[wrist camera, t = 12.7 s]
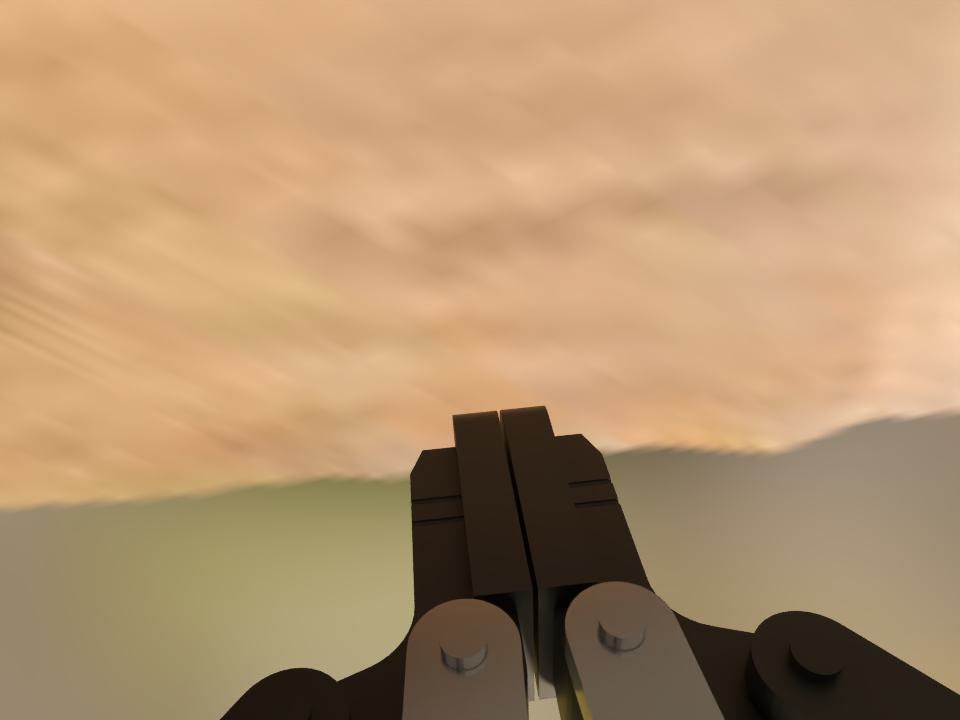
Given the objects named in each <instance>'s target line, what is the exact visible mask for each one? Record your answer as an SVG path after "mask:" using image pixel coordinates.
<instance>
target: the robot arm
mask: <svg viewBox="0 0 960 720" xmlns="http://www.w3.org/2000/svg"><path fill="white" fill-rule="evenodd" d="M453 428H454V439H455V447H451V448H442V449H432V450H423V451H422V453H421V455H420V457H419V459H418V461H417V462H416V464H415V466H414V468H413V470H412V472H411V474H410V480H411V503H412V506H411V509H412V510H411V511H412V539H413V540H412V541H413V571H414V599H415V600H414V602H415V611H414V617H413V621H412V625H411V627H410V629H409V632H408V633H407V635H406V637H405V638H404V640H403V641H402V642H401V644H400V645H399V646H398V647H397V648H396V649H395V650H394V651H393V652H392V653H391V654H390V655H389V656H387V657H386V658H385V659H383V660H382V661H380V662H379V663H377V664H375V665H373V666H371V667H369V668H367V669H365V670H363V671H360V672H358V673H356V674H353V675H351V676H349V677H346V678H344V679H342V680H340V681H338V682H337V681H336V680H334V679H333V678H332V677H331V676H329V675H327V674H325V673H323V672H321V671H318V670H314V669H309V668H293V669H288V670H283V671H280V672H277V673H274V674H272V675H270V676H268V677H266V678H264V679H262V680H261V681H259V682H258V683H256V684H255V685H254V686H252V687H251V688H250V689H249V690H248V691H247V692H246V693H245V694H244V695H243V696H242V697H241V698H240V699H239V700H238V701H237V702H236V703H235V704H234V705H233V706H232V707H231V708H230V709H229V711H228V712H227V713H226V714H225V715H224V716H223V717H222V718H221V719H220V720H529V711H528V701H534V673H535V679H536V684H537V690H538V696H539V700H541V699H549V698H557V702H558V707H559V712H560V717H561V720H960V695H959V694H957V693H956V692H954V691H952V690H950V689H949V688H947V687H945V686H944V685H942V684H940V683H939V682H937V681H935V680H934V679H932V678H930V677H929V676H927V675H925V674H924V673H922V672H920V671H918V670H917V669H915V668H914V667H912V666H910V665H909V664H907V663H905V662H904V661H902V660H900V659H898V658H897V657H895V656H893V655H892V654H890V653H888V652H887V651H885V650H883V649H882V648H880V647H878V646H877V645H875V644H873V643H872V642H870V641H868V640H867V639H865V638H863V637H862V636H860V635H858V634H856V633H855V632H853V631H852V630H850V629H848V628H846V627H845V626H843V625H841V624H840V623H838V622H836V621H834V620H832V619H830V618H827V617H824V616H822V615H819V614H814V613H811V612H803V611H788V612H782V613H778V614H775V615H773V616H771V617H769V618H768V619H766V620H764V621H763V622H762V623H761V624H760V625H759V626H758V628H757V629H756V631H755V633H749V632H744V631H737V630H731V629H726V628H720V627H714V626H710V625H705V624H701V623H698V622H695V621H693V620H690V619H688V618H686V617H684V616H682V615H680V614H678V613H677V612H675V611H673V610H672V609H671V608H670V607H669V606H668V605H667V604H666V603H665V601H663V600H662V599H661V598H660V597H659V596H657V595H656V594H655V592H654V591H653V589H652V588H651V586H650V584H649V582H648V580H647V577H646V574H645V571H644V569H643V566H642V563H641V560H640V558H639V555H638V552H637V549H636V547H635V544H634V541H633V538H632V536H631V533H630V530H629V528H628V525H627V522H626V519H625V517H624V514H623V511H622V508H621V505H620V504H619V503H618V497H617V494H616V492H615V489H614V486H613V484H612V483H611V478H610V475H609V472H608V470H607V467H606V464H605V461H604V459H603V456H602V454H601V453H600V452H599V451H598V450H597V449H596V448H595V447H594V446H593V445H592V444H591V443H590V442H589V441H588V440H587V439H586V438H585V437H584V436H583V435H582V434H574V435H564V436H554V433H553V429H552V426H551V422H550V419H549V415H548V412H547V409H546V407H545V406H537V407H527V408H517V409H507V410H500V422H499V417H498V413H497V411H489V412H480V413H470V414H460V415H453Z"/></svg>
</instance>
